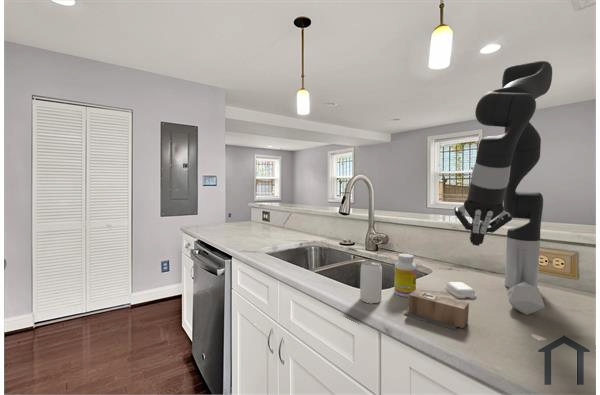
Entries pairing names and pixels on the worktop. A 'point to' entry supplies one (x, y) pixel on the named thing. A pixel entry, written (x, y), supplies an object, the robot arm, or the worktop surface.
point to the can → (371, 281)
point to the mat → (430, 320)
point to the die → (525, 298)
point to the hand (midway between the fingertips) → (475, 243)
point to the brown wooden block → (439, 308)
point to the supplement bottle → (405, 275)
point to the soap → (460, 290)
